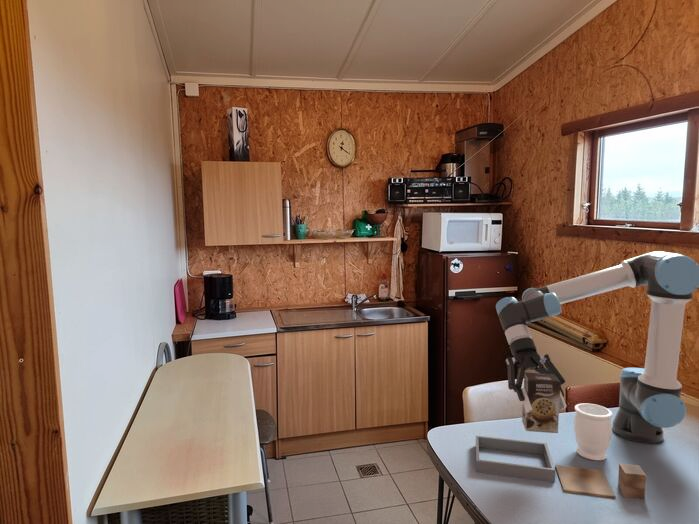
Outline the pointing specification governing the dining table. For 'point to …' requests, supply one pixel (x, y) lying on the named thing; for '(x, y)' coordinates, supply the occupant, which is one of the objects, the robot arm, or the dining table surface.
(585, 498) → the dining table surface
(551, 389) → the cookie box
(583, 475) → the cork mat
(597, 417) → the jar
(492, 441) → the frame
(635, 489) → the walnut block
